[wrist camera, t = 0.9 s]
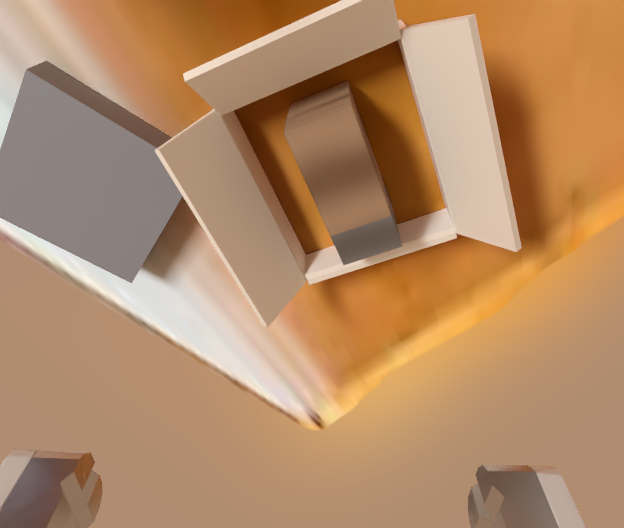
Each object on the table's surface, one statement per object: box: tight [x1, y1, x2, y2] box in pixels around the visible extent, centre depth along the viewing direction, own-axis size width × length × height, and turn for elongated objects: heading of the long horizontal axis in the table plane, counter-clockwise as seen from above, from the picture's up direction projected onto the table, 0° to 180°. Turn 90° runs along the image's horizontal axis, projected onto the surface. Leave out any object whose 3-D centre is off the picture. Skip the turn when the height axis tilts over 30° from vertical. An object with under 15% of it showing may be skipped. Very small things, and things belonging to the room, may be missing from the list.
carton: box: [154, 0, 522, 327], centre depth 37 cm, size 21×22×9 cm
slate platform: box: [0, 61, 183, 283], centre depth 42 cm, size 14×14×3 cm
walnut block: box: [284, 80, 402, 265], centre depth 38 cm, size 12×5×7 cm, turn 23°
